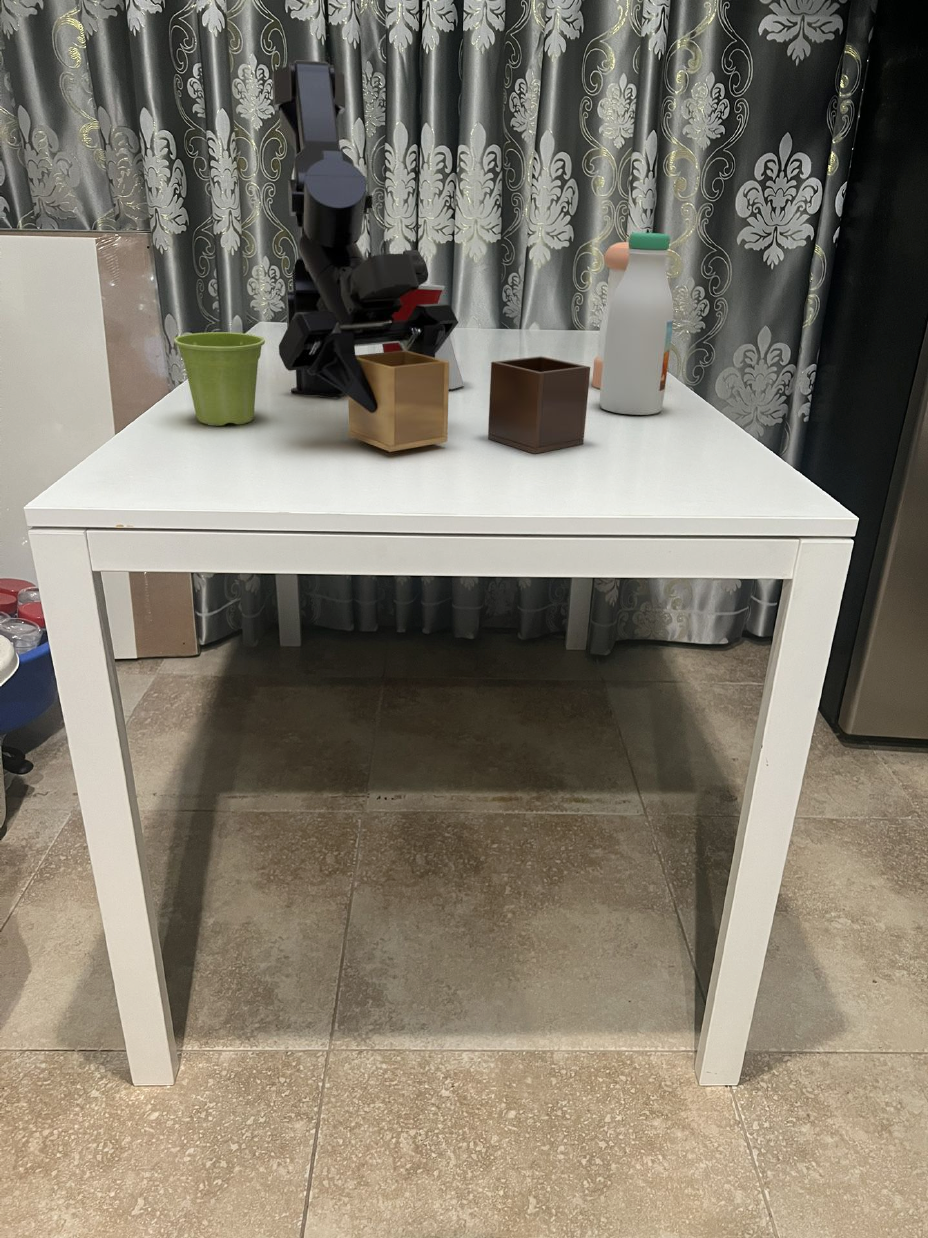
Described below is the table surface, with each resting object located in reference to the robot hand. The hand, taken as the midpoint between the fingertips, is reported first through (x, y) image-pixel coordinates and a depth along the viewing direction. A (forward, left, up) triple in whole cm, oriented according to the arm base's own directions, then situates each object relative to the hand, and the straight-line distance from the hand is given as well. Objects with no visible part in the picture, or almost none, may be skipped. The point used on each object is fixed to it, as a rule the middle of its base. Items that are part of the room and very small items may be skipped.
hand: (405, 405), depth 90 cm
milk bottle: (+20, +28, -4) cm, 34 cm away
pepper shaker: (+17, +42, -4) cm, 45 cm away
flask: (-6, +32, -4) cm, 33 cm away
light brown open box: (-1, +1, -4) cm, 4 cm away
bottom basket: (+12, +8, -4) cm, 15 cm away
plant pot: (-22, +4, -4) cm, 23 cm away
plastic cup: (-14, +43, -4) cm, 45 cm away
